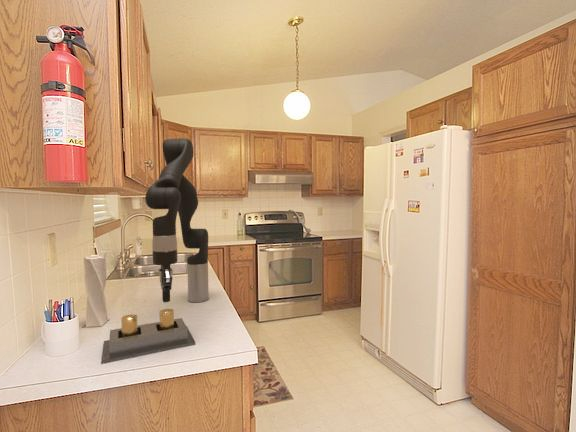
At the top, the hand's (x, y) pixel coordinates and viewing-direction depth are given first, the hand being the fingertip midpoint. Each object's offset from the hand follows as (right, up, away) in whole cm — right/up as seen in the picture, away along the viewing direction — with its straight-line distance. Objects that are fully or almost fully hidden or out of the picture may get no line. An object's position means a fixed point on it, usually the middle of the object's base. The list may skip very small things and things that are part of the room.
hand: (166, 301), depth 105 cm
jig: (-5, -13, -2) cm, 14 cm away
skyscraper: (-32, -13, +15) cm, 38 cm away
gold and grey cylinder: (0, -12, 0) cm, 12 cm away
